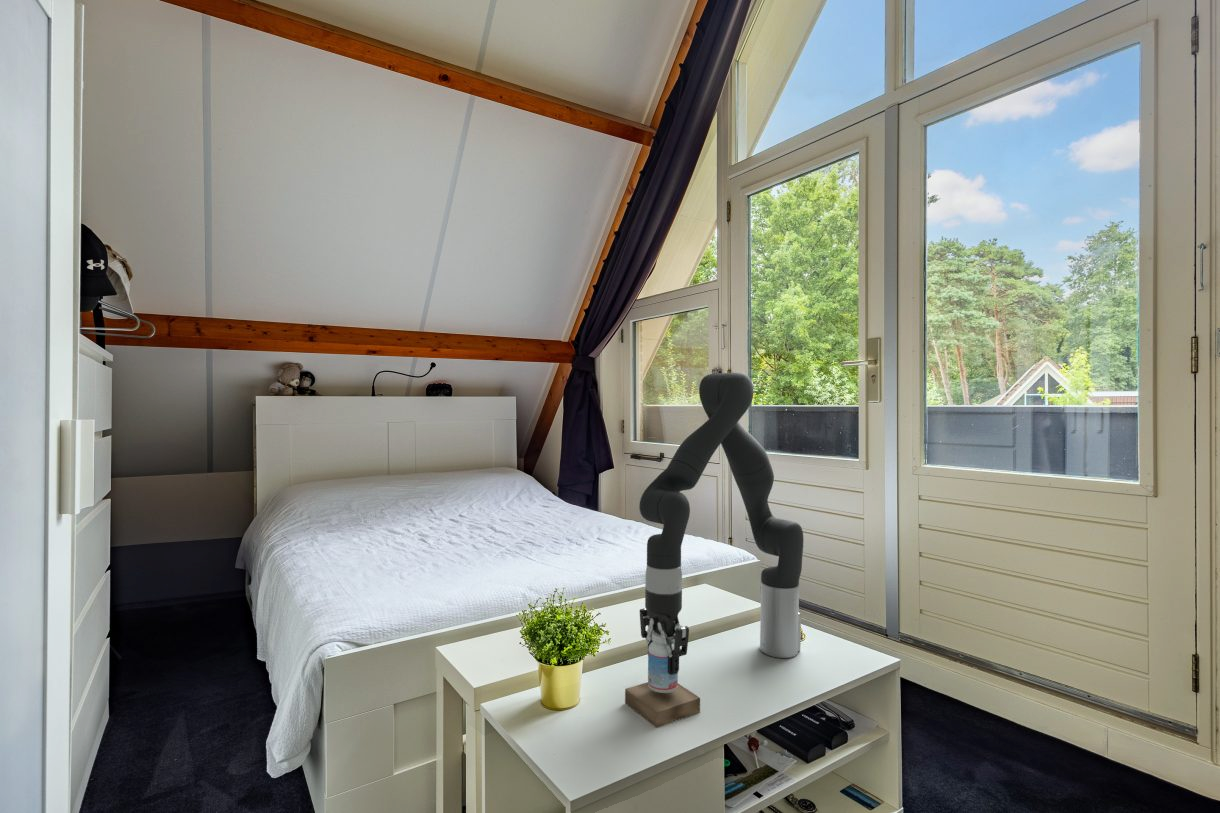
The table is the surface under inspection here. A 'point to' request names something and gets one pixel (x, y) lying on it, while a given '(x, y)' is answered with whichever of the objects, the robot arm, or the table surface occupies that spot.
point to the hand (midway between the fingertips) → (662, 666)
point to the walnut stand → (662, 704)
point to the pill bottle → (660, 666)
